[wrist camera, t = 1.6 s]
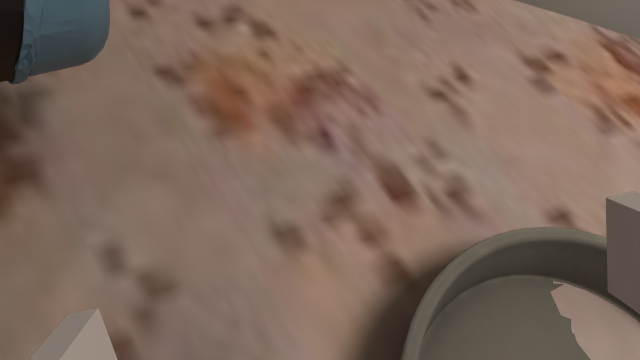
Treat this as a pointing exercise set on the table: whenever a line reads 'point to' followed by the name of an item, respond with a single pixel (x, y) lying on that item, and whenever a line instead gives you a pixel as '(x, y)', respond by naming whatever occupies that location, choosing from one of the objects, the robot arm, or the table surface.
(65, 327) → the robot arm
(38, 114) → the table surface
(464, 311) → the cake pan
